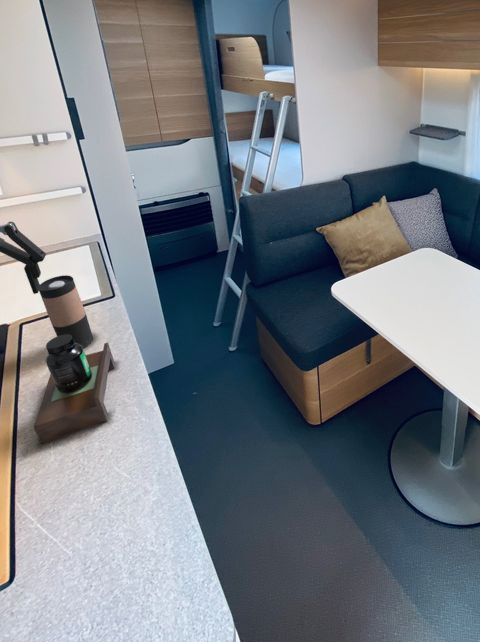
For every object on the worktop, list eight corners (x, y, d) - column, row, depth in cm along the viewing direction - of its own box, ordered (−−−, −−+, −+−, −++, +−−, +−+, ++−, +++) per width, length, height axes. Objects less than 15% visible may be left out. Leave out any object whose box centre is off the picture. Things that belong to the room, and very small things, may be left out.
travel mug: (55, 349, 113) (30, 287, 105) (82, 332, 120) (60, 272, 112) (74, 355, 110) (49, 293, 103) (100, 338, 117) (79, 277, 109)
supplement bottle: (100, 374, 97) (85, 333, 92) (73, 396, 91) (56, 354, 86) (77, 369, 99) (62, 328, 94) (50, 390, 92) (31, 349, 88)
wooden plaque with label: (41, 443, 86) (29, 419, 83) (60, 379, 103) (51, 357, 100) (107, 421, 91) (98, 397, 88) (115, 363, 107) (107, 342, 105)
